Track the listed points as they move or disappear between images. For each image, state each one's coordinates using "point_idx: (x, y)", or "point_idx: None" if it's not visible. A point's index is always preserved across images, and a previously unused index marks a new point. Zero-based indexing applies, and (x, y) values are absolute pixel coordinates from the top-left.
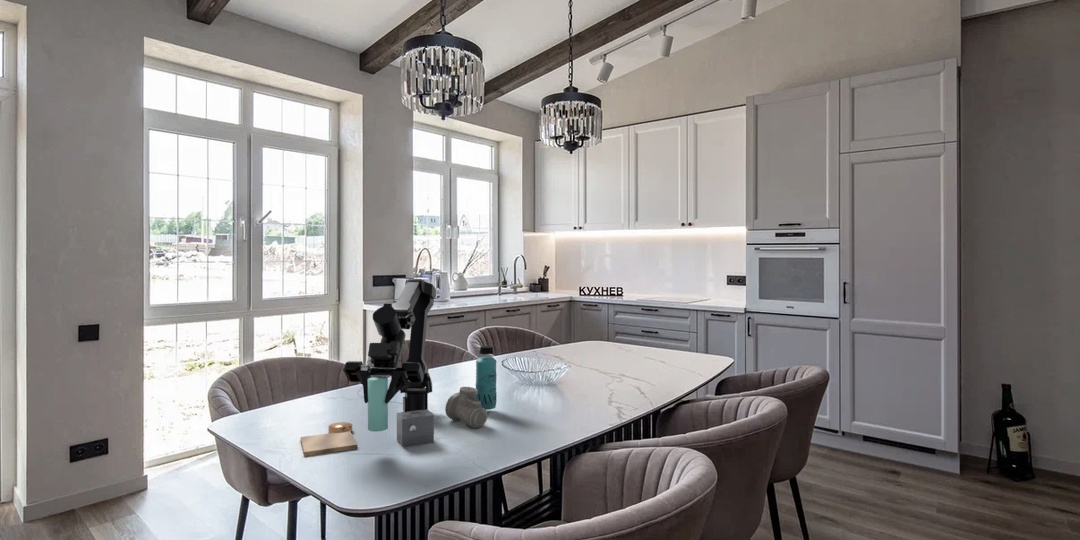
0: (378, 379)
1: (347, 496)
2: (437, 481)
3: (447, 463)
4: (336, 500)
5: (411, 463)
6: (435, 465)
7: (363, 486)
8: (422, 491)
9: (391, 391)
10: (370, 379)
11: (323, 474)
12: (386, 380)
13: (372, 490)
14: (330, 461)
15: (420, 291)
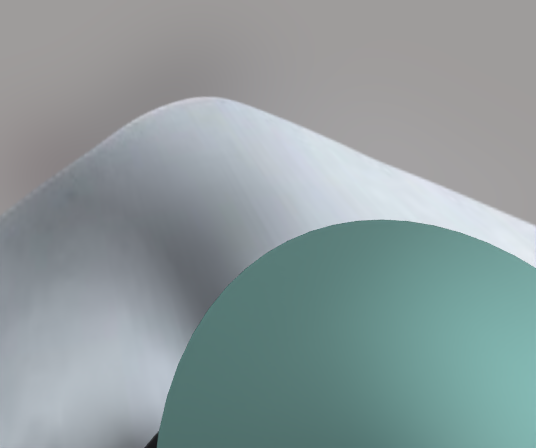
0: (345, 352)
1: (241, 126)
2: (43, 221)
3: (3, 359)
4: (255, 111)
5: (136, 335)
6: (48, 332)
7: (227, 168)
8: (80, 169)
9: (147, 444)
10: (530, 321)
11: (374, 209)
12: (170, 418)
13: (198, 155)
14: None
15: None
